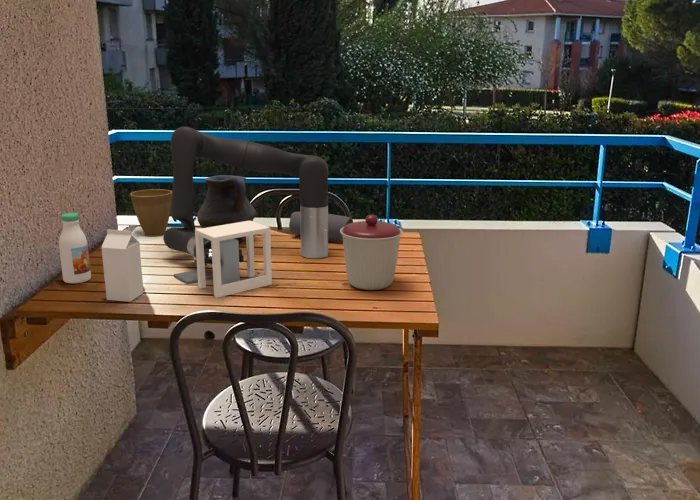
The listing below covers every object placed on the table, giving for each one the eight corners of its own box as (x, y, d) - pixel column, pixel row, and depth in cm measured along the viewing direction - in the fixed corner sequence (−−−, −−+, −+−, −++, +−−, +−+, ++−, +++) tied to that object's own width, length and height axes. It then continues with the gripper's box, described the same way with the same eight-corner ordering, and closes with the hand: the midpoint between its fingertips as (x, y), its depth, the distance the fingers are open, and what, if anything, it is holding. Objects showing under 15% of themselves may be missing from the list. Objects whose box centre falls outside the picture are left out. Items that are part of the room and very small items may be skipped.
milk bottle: (64, 285, 183) (56, 218, 177) (62, 277, 189) (54, 212, 184) (92, 281, 186) (85, 215, 181) (89, 274, 193) (82, 210, 187)
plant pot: (181, 230, 245) (178, 189, 241) (164, 240, 231) (160, 197, 227) (145, 228, 248) (142, 187, 243) (126, 237, 234) (122, 195, 229)
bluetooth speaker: (288, 239, 235) (287, 212, 232) (300, 233, 243) (299, 208, 240) (344, 246, 226) (344, 219, 223) (354, 240, 234) (354, 213, 231)
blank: (216, 281, 187) (214, 239, 184) (231, 278, 190) (229, 236, 187) (225, 286, 184) (223, 243, 180) (240, 282, 187) (238, 240, 183)
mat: (173, 276, 191) (173, 274, 191) (200, 271, 197) (200, 268, 197) (187, 284, 185) (187, 281, 184) (214, 278, 190) (214, 275, 190)
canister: (404, 277, 193) (407, 210, 187) (396, 297, 176) (399, 224, 170) (346, 273, 196) (347, 206, 191) (333, 292, 179) (333, 220, 174)
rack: (198, 287, 182) (194, 229, 178) (251, 275, 194) (250, 220, 189) (216, 297, 174) (213, 237, 170) (271, 284, 186) (270, 227, 181)
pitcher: (236, 231, 244) (234, 167, 238) (269, 242, 229) (267, 174, 222) (188, 240, 231) (184, 172, 224) (220, 253, 216) (216, 180, 209)
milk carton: (130, 302, 170) (124, 234, 165) (106, 300, 172) (99, 232, 166) (143, 293, 177) (138, 227, 172) (120, 291, 178) (114, 226, 173)
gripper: (181, 241, 190) (208, 253, 178) (224, 233, 199) (252, 244, 187) (183, 264, 192) (209, 278, 180) (225, 256, 201) (252, 269, 189)
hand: (231, 261), depth 183 cm, fingers open, 7 cm apart
